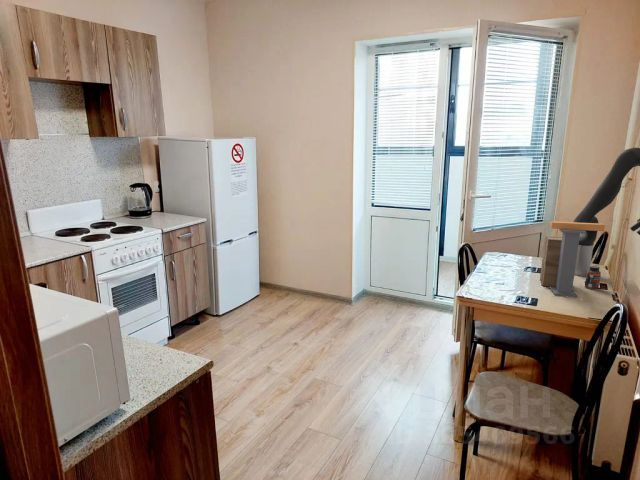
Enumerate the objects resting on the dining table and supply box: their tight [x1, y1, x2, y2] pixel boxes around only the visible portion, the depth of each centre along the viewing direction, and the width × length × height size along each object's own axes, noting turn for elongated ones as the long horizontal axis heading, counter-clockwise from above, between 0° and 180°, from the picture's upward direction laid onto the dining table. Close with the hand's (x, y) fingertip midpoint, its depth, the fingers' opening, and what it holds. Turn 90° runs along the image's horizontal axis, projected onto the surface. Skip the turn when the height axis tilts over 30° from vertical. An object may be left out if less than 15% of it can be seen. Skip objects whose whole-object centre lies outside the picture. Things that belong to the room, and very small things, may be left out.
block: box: [549, 221, 606, 232], centre depth 203 cm, size 3×22×3 cm, turn 72°
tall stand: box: [549, 229, 586, 298], centre depth 208 cm, size 10×10×32 cm
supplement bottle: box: [584, 265, 602, 290], centre depth 217 cm, size 6×6×11 cm
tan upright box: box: [539, 234, 562, 288], centre depth 221 cm, size 10×12×25 cm
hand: (634, 231), depth 196 cm, fingers open, 8 cm apart
